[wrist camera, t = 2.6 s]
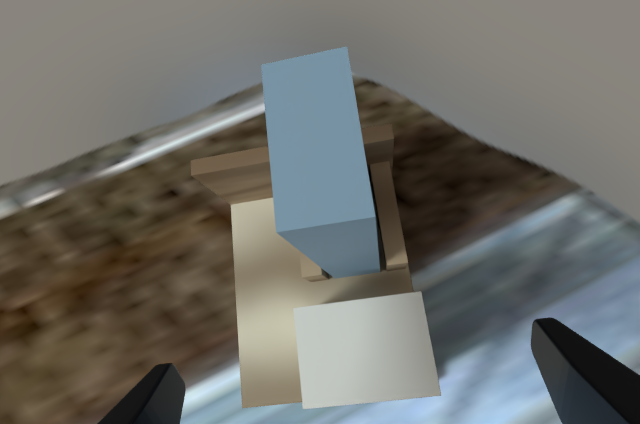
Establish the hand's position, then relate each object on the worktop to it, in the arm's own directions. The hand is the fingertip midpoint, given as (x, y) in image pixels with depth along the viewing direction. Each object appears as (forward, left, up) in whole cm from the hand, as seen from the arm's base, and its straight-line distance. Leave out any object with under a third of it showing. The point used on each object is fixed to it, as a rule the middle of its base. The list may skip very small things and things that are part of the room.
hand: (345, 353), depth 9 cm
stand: (+4, +1, -12) cm, 13 cm away
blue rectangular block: (+5, -2, -11) cm, 12 cm away
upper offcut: (0, 0, -9) cm, 9 cm away
